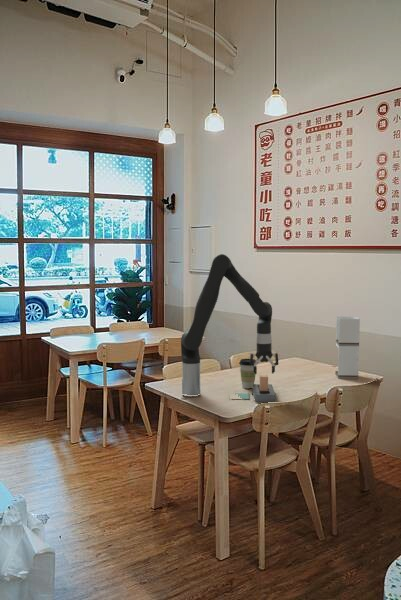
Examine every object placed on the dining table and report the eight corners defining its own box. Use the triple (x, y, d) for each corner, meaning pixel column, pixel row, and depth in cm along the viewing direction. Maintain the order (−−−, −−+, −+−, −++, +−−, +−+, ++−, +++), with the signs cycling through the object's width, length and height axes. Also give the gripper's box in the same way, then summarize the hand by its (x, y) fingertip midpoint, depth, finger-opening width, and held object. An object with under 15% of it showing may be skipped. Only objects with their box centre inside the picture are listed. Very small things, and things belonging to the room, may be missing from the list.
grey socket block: (255, 402, 262) (255, 394, 262) (252, 391, 282) (252, 384, 281) (275, 402, 262) (275, 394, 261) (271, 391, 281) (271, 384, 281)
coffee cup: (242, 390, 285) (242, 362, 283) (236, 385, 294) (236, 358, 293) (259, 388, 287) (260, 361, 286) (253, 384, 297) (253, 357, 295)
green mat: (229, 399, 267) (229, 398, 267) (229, 394, 277) (229, 393, 277) (249, 399, 267) (249, 398, 267) (248, 394, 277) (248, 393, 277)
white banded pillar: (354, 374, 318) (356, 316, 315) (358, 379, 308) (359, 318, 304) (335, 374, 319) (336, 316, 316) (338, 378, 309) (339, 318, 305)
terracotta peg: (260, 398, 270) (260, 376, 269) (259, 395, 274) (259, 374, 273) (268, 398, 270) (268, 376, 269) (267, 395, 274) (267, 374, 272)
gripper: (277, 340, 273) (277, 371, 274) (249, 340, 273) (249, 371, 275) (279, 343, 265) (279, 375, 267) (250, 343, 266) (250, 375, 267)
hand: (264, 373), depth 271 cm, fingers open, 8 cm apart
